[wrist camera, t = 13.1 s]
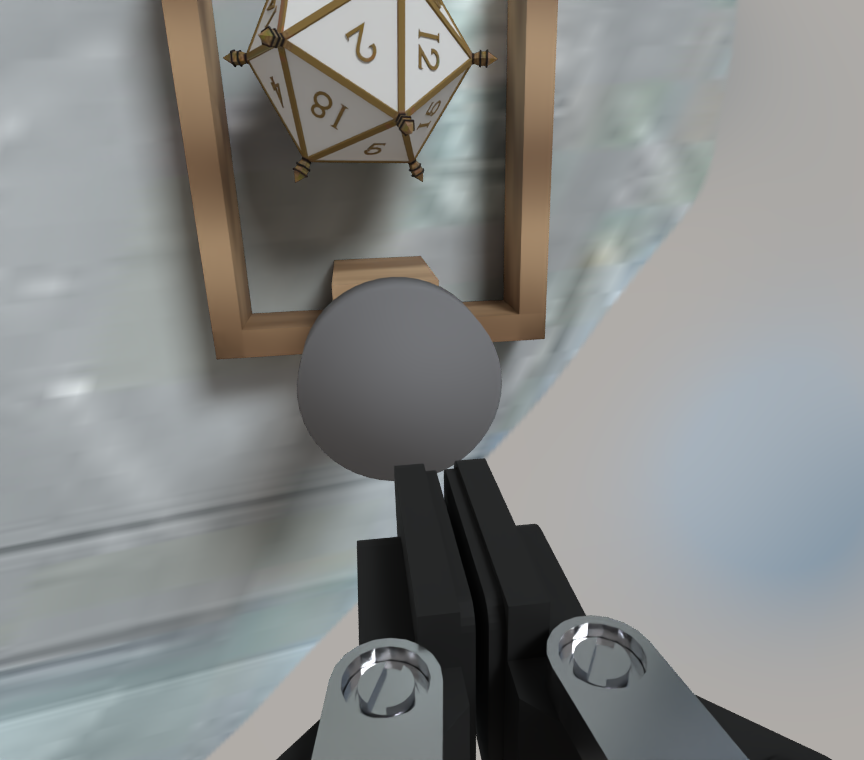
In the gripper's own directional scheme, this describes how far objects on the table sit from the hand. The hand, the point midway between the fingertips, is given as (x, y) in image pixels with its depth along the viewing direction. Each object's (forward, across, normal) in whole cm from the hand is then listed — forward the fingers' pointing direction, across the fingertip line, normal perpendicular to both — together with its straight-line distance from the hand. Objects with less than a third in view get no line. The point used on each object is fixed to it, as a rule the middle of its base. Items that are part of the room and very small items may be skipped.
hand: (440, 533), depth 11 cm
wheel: (+11, 0, 0) cm, 11 cm away
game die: (+20, +1, -10) cm, 22 cm away
